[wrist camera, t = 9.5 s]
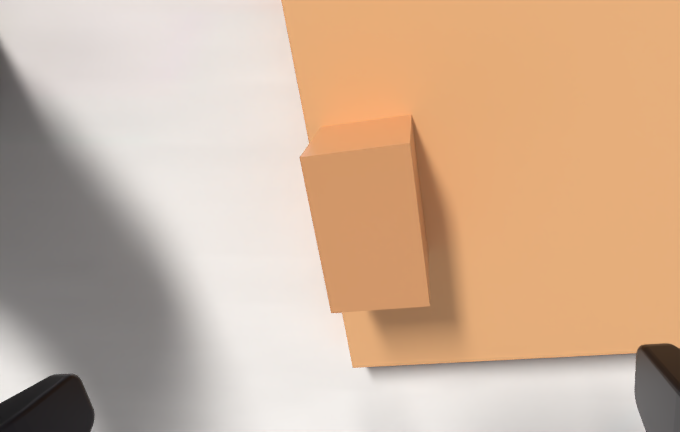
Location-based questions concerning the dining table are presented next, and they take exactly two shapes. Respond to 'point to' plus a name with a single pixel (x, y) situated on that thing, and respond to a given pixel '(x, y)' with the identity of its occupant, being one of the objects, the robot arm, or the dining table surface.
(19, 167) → the dining table surface
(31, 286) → the dining table surface
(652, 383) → the robot arm
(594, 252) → the lid
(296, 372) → the dining table surface
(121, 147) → the dining table surface
